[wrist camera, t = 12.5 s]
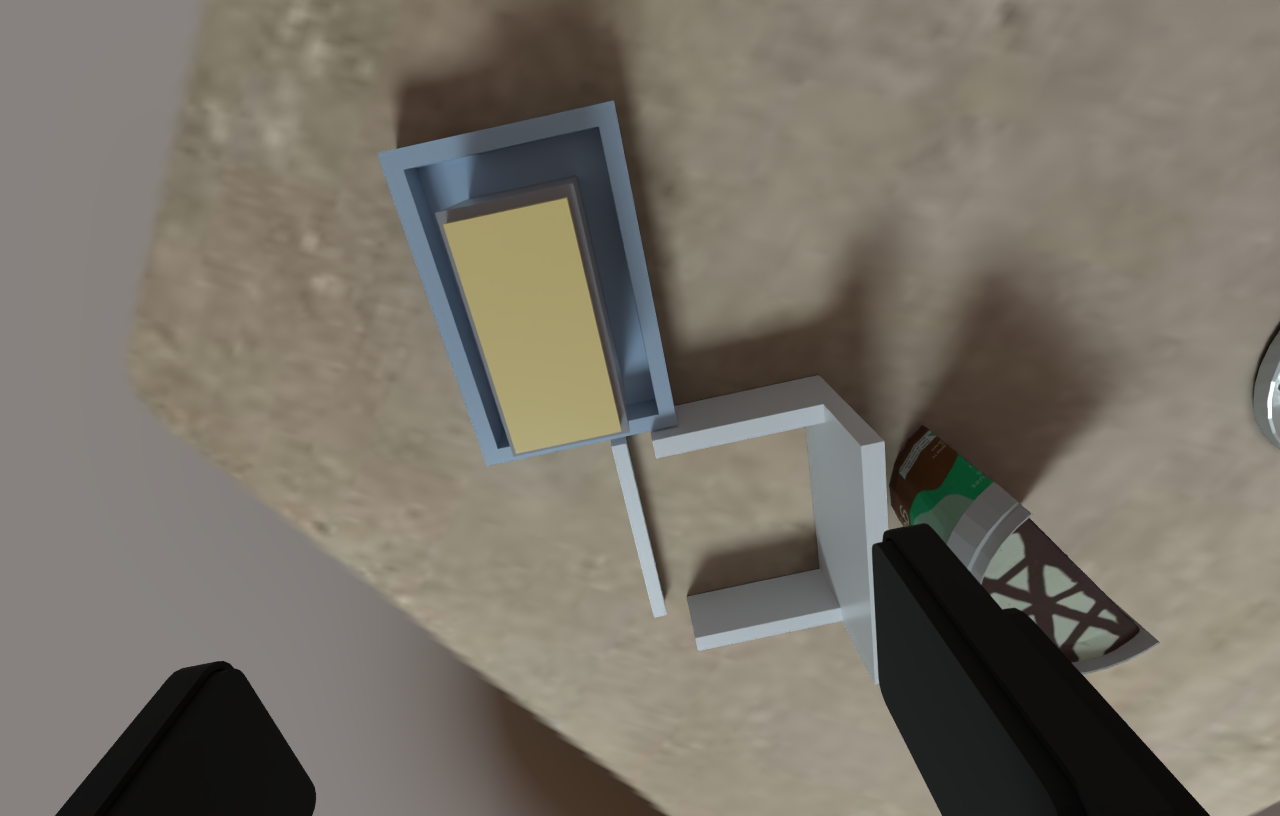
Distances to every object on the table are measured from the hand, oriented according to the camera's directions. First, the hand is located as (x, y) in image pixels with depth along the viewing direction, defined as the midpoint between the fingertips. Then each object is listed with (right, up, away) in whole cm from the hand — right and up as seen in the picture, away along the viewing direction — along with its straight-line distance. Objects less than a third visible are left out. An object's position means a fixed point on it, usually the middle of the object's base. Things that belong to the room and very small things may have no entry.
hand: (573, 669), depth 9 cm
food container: (+18, -2, +28) cm, 33 cm away
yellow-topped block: (-3, +9, +20) cm, 23 cm away
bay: (+6, -2, +27) cm, 27 cm away
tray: (-4, +10, +21) cm, 23 cm away
